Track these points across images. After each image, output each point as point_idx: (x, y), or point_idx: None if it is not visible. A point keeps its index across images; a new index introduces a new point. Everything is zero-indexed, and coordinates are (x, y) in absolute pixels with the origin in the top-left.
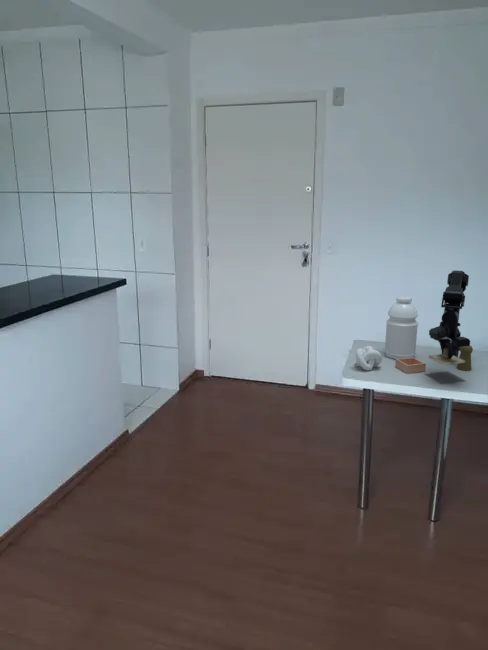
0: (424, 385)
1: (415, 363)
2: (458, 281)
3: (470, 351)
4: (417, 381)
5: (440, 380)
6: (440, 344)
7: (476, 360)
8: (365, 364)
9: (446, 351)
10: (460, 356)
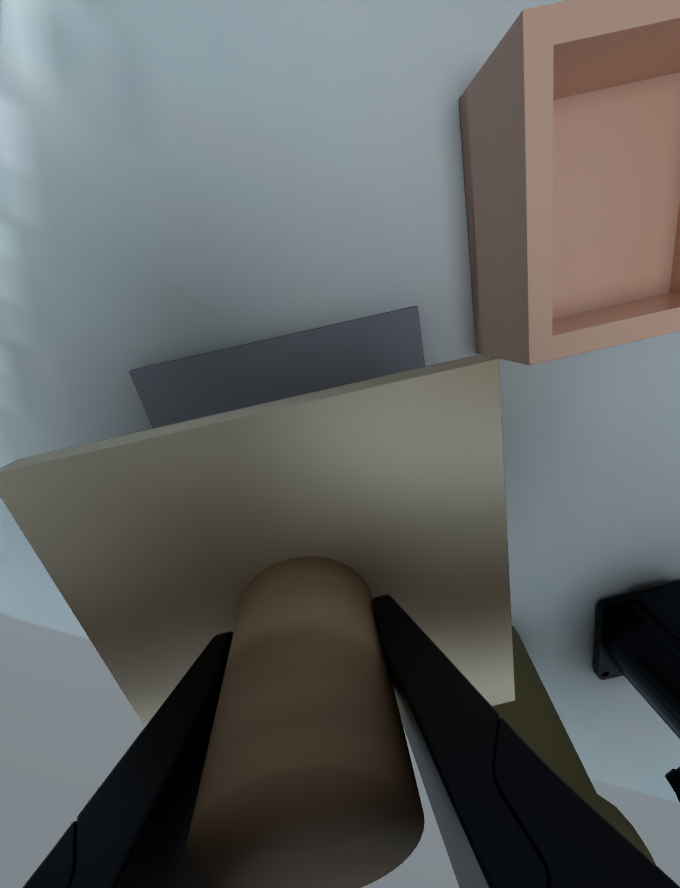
0: (104, 170)
1: (654, 302)
2: None
3: None
4: (232, 139)
5: (234, 402)
6: (584, 845)
7: (596, 754)
8: None
9: (222, 739)
10: (539, 738)
